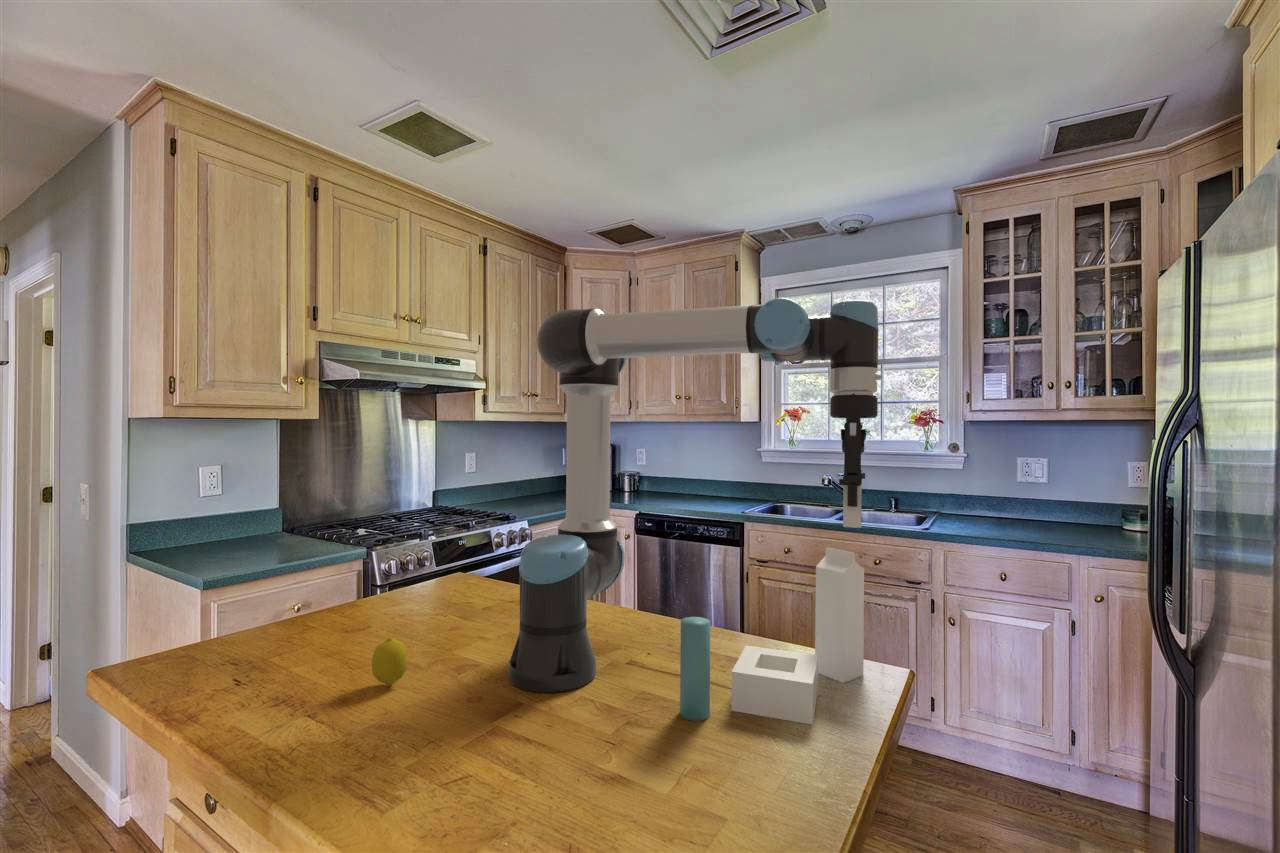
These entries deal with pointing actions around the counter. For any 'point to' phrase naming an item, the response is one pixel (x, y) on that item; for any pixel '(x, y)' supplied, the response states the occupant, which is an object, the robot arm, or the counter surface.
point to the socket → (775, 684)
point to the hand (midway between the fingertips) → (852, 521)
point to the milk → (839, 616)
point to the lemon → (389, 661)
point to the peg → (695, 668)
